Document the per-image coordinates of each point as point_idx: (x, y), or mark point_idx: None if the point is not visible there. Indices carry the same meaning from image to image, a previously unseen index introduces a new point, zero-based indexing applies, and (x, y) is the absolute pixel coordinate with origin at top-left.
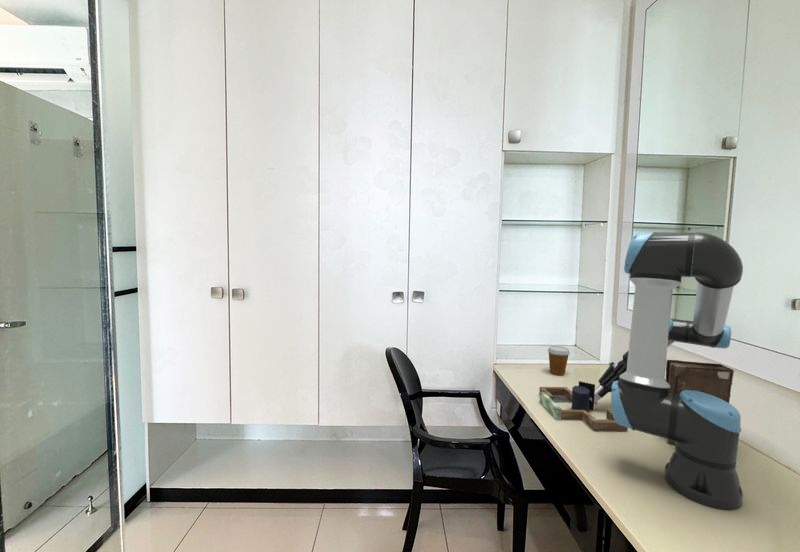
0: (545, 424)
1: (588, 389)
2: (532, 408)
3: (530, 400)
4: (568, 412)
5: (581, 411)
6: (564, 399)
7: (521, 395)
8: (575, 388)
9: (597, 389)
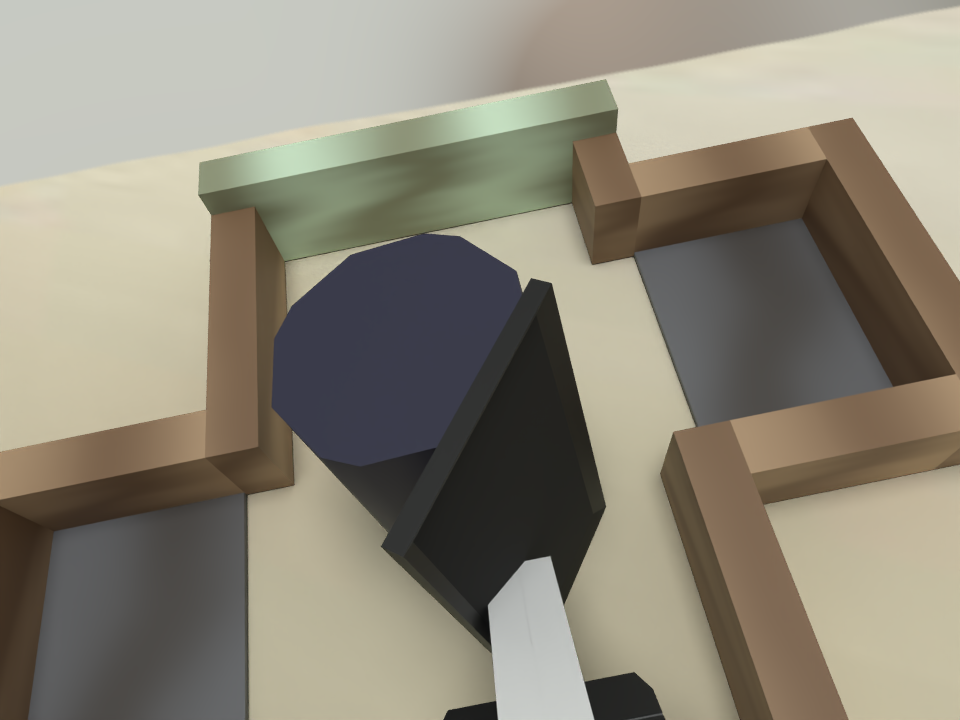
0: (173, 160)
1: (397, 455)
2: (447, 109)
3: (618, 108)
4: (214, 278)
5: (212, 397)
6: (755, 393)
7: (713, 57)
8: (434, 272)
9: (552, 704)
